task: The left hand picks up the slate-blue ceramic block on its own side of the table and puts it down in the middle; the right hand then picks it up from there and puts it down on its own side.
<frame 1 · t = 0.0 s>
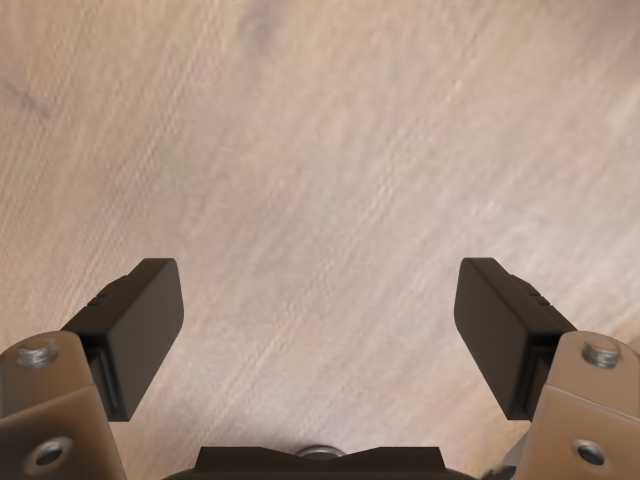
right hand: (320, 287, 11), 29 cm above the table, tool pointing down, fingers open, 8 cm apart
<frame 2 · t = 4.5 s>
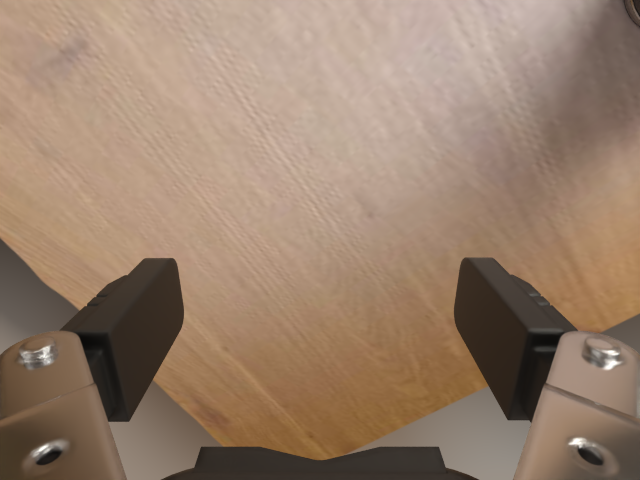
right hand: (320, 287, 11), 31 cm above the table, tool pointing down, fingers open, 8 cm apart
when the left hand's fingers open (2 cm above the table, at t = 11.5 s): block drops 1 cm, on the table.
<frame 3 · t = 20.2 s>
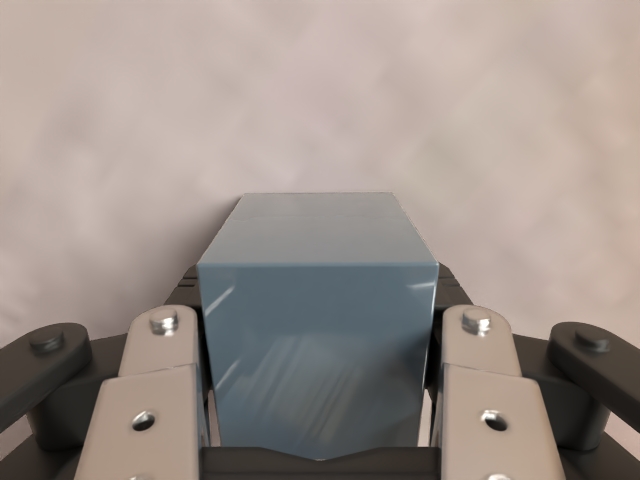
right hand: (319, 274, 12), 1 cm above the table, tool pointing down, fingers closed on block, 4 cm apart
block: (319, 268, 12), on the table, touching right hand
when the right hand's fingers open (1 cm above the table, at t = 29.2 s): block stays where it is, on the table.
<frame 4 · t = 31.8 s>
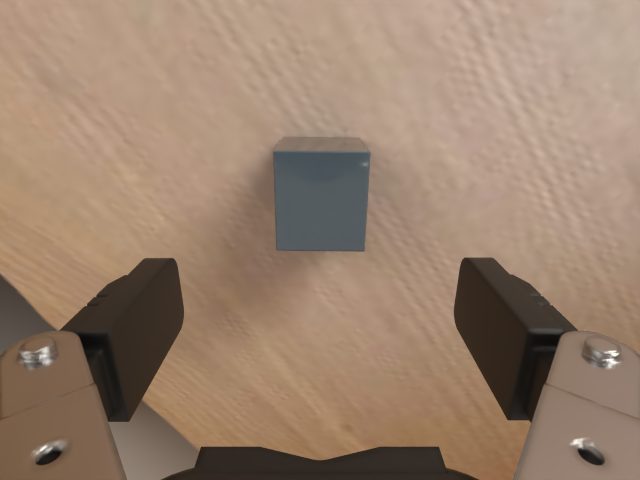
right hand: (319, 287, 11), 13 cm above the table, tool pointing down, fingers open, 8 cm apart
block: (320, 180, 23), on the table
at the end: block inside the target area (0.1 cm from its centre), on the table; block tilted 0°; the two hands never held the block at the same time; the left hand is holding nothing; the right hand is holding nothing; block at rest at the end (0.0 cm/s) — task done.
